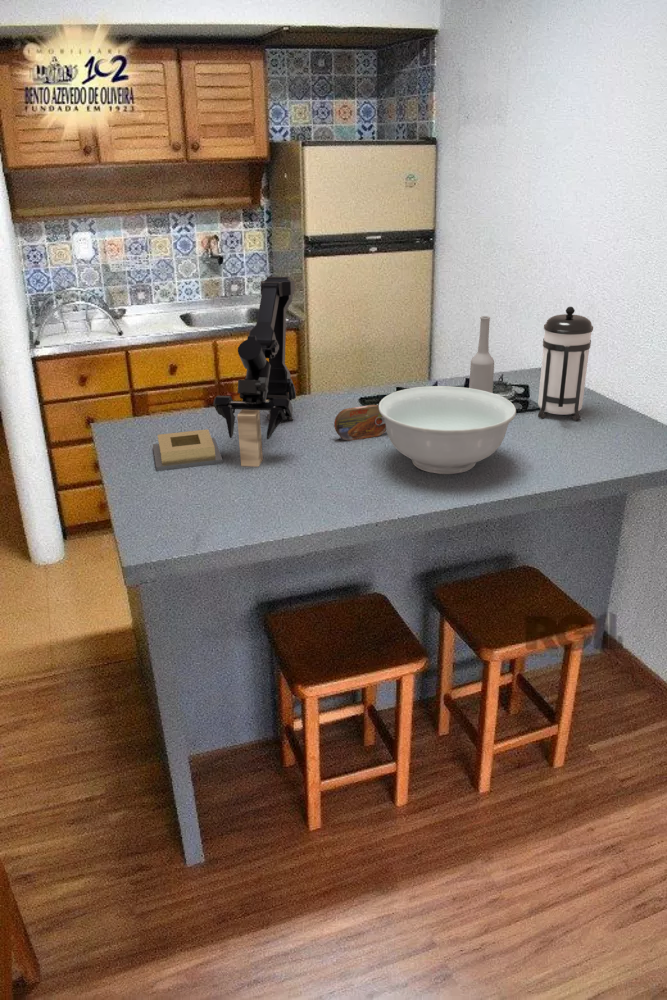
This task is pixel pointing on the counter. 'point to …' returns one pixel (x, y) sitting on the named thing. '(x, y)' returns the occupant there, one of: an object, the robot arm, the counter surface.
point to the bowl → (446, 425)
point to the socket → (186, 450)
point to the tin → (360, 423)
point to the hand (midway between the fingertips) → (249, 438)
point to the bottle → (482, 361)
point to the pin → (250, 437)
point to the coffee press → (564, 364)
